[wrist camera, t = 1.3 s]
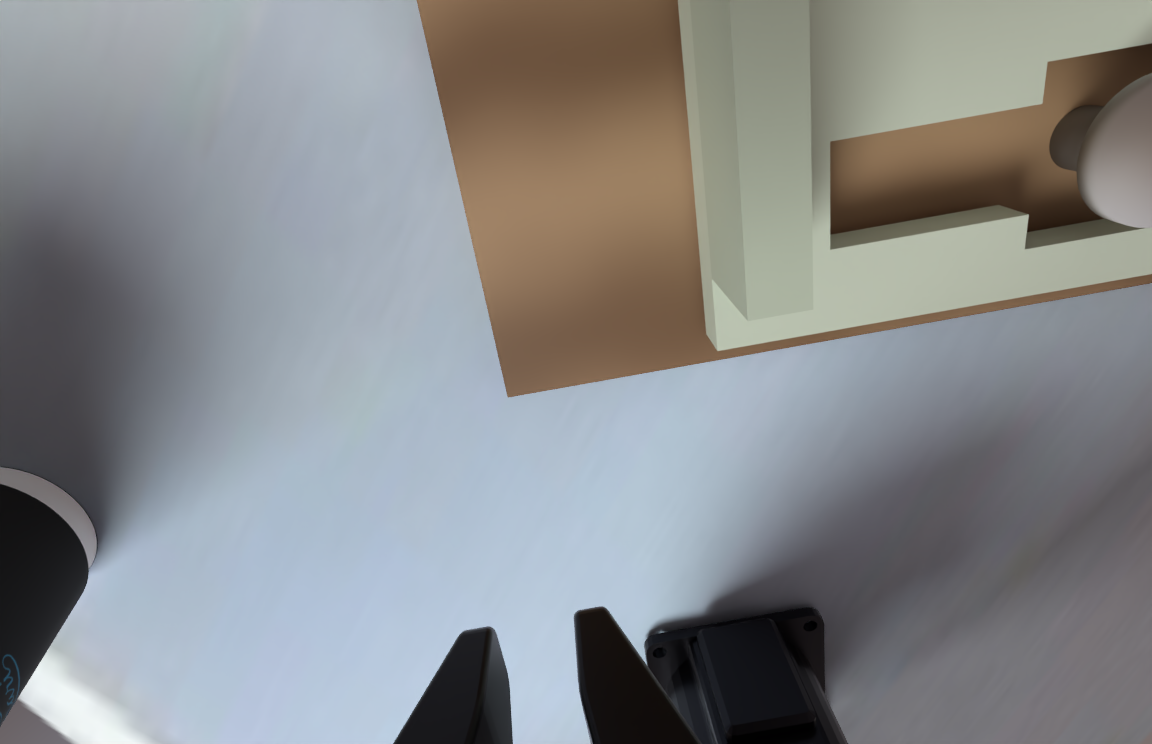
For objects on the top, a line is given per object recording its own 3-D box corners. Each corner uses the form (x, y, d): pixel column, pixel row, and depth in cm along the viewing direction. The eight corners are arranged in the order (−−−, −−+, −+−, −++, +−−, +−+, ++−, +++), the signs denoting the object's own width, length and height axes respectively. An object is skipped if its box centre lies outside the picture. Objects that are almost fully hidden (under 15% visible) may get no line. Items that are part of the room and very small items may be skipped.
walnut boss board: (1368, 232, 21) (1527, 266, 17) (508, 385, 21) (505, 447, 17) (1633, -553, 14) (1978, -741, 10) (347, -324, 14) (294, -439, 11)
